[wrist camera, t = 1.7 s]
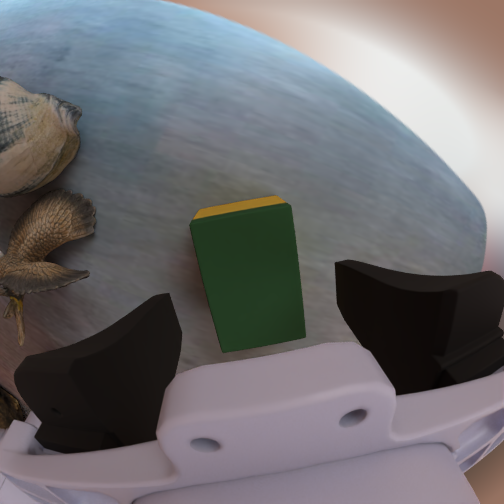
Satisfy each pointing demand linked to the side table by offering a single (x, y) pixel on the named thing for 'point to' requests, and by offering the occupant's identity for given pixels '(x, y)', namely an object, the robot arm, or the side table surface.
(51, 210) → the eagle figurine
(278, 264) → the sponge
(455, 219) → the side table surface
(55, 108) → the seashell
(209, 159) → the side table surface
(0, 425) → the seashell
